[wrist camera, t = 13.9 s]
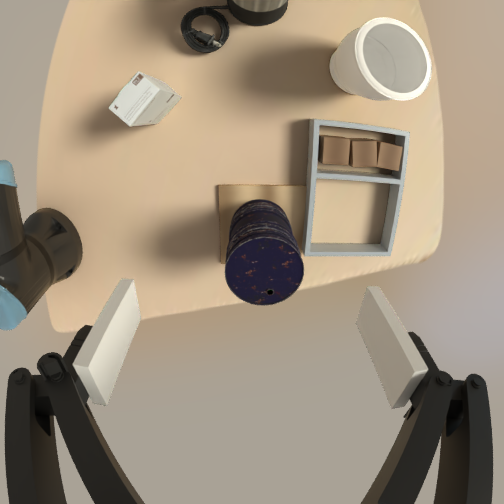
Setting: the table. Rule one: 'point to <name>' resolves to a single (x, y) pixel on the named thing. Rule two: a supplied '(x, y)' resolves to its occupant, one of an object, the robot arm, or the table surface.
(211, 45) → the milk frother
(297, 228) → the mat
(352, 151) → the block
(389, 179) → the tray
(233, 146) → the table surface
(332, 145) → the block
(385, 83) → the jar
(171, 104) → the skincare box
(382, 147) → the block
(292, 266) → the rusty oil drum
